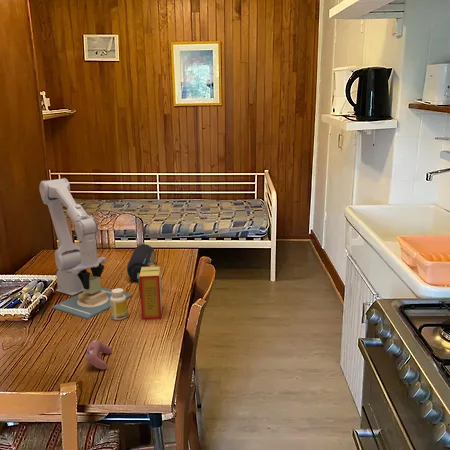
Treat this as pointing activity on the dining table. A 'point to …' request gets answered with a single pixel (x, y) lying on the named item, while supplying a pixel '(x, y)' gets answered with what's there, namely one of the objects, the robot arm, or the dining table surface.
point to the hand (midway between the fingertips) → (91, 286)
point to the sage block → (93, 285)
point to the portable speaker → (140, 260)
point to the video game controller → (97, 354)
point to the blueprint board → (86, 309)
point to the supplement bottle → (118, 304)
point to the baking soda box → (151, 292)
